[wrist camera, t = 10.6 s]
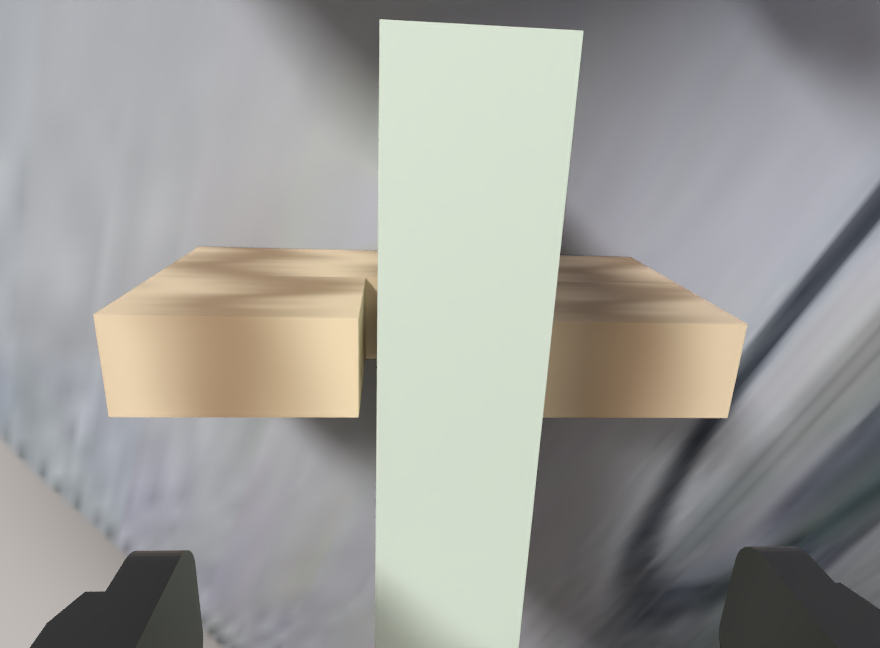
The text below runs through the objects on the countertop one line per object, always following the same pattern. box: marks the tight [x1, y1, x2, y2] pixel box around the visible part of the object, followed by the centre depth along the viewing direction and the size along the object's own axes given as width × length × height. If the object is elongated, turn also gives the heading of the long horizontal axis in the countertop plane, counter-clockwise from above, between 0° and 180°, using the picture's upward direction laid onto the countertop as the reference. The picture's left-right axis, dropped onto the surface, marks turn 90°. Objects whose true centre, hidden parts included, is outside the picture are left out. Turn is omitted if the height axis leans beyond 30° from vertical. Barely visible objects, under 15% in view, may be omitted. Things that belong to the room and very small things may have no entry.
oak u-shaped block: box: [93, 247, 748, 418], centre depth 21 cm, size 18×3×9 cm, turn 88°
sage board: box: [375, 19, 584, 648], centre depth 18 cm, size 3×16×15 cm, turn 178°
